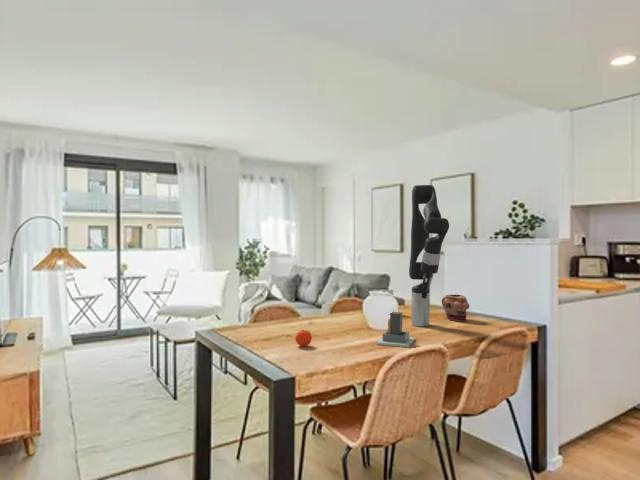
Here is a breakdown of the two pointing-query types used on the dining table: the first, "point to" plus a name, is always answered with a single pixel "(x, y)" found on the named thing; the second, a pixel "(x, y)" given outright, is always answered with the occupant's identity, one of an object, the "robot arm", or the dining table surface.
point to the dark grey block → (395, 323)
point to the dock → (396, 340)
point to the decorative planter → (455, 307)
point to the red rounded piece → (303, 337)
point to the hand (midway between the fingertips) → (425, 294)
